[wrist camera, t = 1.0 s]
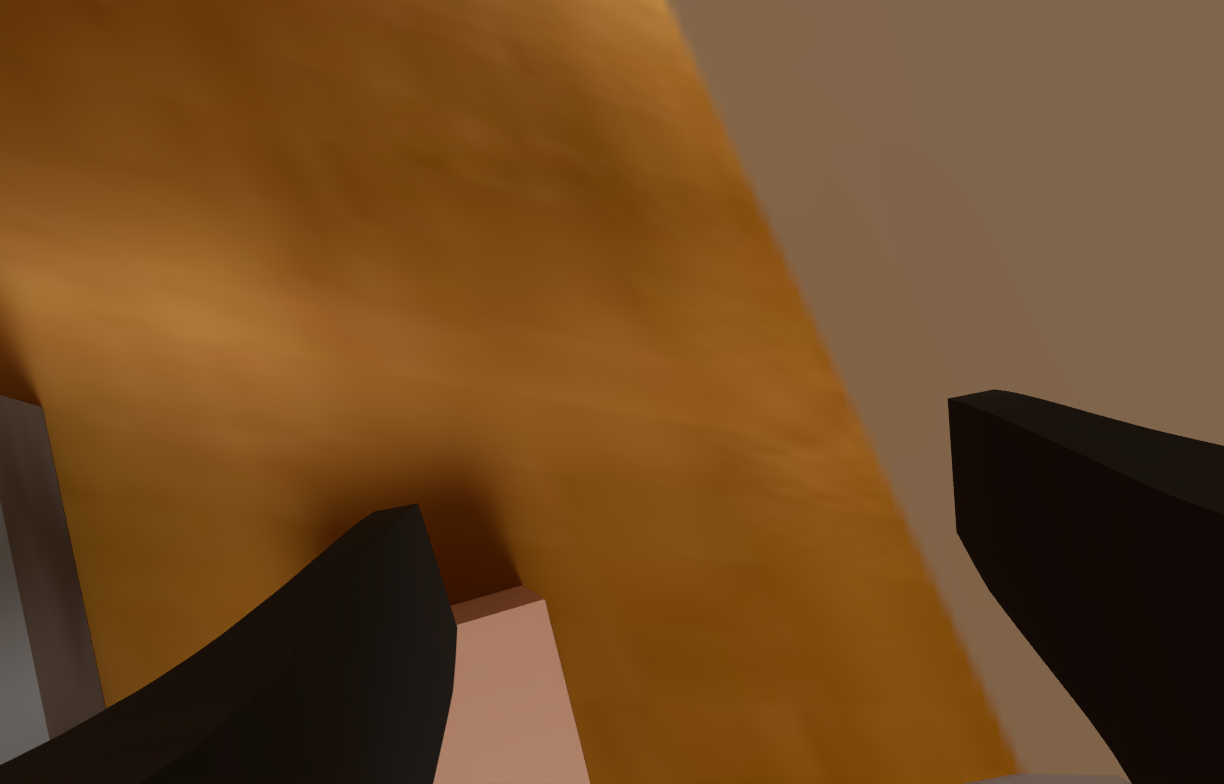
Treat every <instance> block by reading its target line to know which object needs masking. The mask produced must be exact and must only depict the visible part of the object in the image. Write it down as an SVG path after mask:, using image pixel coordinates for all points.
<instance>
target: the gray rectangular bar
mask: <svg viewBox="0 0 1224 784" xmlns="http://www.w3.org/2000/svg"><path fill="white" fill-rule="evenodd" d="M105 709H106V708H105V703H104V699H103V694H102V689H101V684H100V680H99V675H98V670H97V665H96V661H95V656H94V651H93V646H92V642H91V637H90V632H89V628H88V623H87V618H86V613H85V609H84V604H83V599H82V594H81V590H80V585H79V580H78V575H77V571H76V566H75V561H74V556H73V552H72V547H71V542H70V537H69V533H68V528H67V523H66V518H65V514H64V509H63V504H62V499H61V495H60V490H59V485H58V480H57V476H56V471H55V466H54V461H53V457H52V452H51V447H50V443H49V438H48V433H47V428H46V424H45V419H44V414H43V409H42V407H41V406H37V405H33V404H30V403H26V402H23V401H19V400H16V399H12V398H9V397H5V396H1V395H0V765H1V764H3V763H5V762H7V761H9V760H11V759H13V758H15V757H17V756H19V755H21V754H23V753H25V752H27V751H29V750H31V749H33V748H35V747H37V746H39V745H41V744H43V743H45V742H47V741H49V740H51V739H53V738H55V737H57V736H59V735H61V734H63V733H65V732H66V731H68V730H70V729H72V728H73V727H75V726H77V725H79V724H81V723H82V722H84V721H86V720H88V719H89V718H91V717H93V716H95V715H96V714H98V713H100V712H102V711H103V710H105Z"/></svg>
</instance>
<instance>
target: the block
mask: <svg viewBox="0 0 1224 784" xmlns="http://www.w3.org/2000/svg"><path fill="white" fill-rule="evenodd" d="M451 609H452V612H453V615H454V618H455V621H456V624H457V645H456V663H455V675H454V687H453V694H452V699H451V704H450V709H449V714H448V719H447V723H446V728H445V733H444V737H443V742H442V747H441V751H440V756H439V760H438V765H437V769H436V774H435V778H434V782H433V784H590V781H589V777H588V773H587V769H586V765H585V761H584V757H583V753H582V749H581V744H580V740H579V736H578V732H577V728H576V724H575V720H574V716H573V712H572V708H571V704H570V700H569V696H568V692H567V688H566V684H565V680H564V676H563V672H562V668H561V664H560V660H559V656H558V651H557V647H556V643H555V639H554V635H553V631H552V627H551V623H550V619H549V615H548V611H547V607H546V603H545V599H543V598H542V597H540V596H539V595H537V594H536V593H534V592H533V591H531V590H529V589H528V588H526V587H525V586H523V585H521V586H517V587H514V588H511V589H507V590H504V591H500V592H497V593H493V594H490V595H486V596H483V597H479V598H476V599H472V600H469V601H466V602H462V603H459V604H455V605H452V606H451Z"/></svg>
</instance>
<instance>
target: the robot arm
mask: <svg viewBox="0 0 1224 784" xmlns="http://www.w3.org/2000/svg"><path fill="white" fill-rule="evenodd" d="M948 409H949V425H950V439H951V454H952V470H953V485H954V499H955V514H956V530H957V534H958V535H959V537H960V539H961V541H962V543H963V545H964V546H965V548H966V550H967V552H968V554H969V556H970V558H971V559H972V561H973V563H974V565H975V567H976V568H977V570H978V572H979V574H980V575H981V577H982V579H983V581H984V582H985V584H986V585H987V587H988V589H989V591H990V592H991V593H992V595H993V596H994V597H995V599H996V600H997V601H998V603H999V604H1000V605H1001V607H1002V608H1003V609H1004V611H1005V612H1006V613H1007V615H1008V616H1009V617H1010V618H1011V620H1012V621H1013V622H1014V624H1015V625H1016V626H1017V628H1018V629H1019V630H1020V632H1021V633H1022V634H1023V635H1024V637H1025V638H1026V639H1027V641H1028V642H1029V643H1030V644H1031V646H1033V648H1034V650H1035V651H1036V652H1037V653H1038V655H1039V656H1040V657H1041V658H1042V660H1043V661H1044V662H1045V664H1046V665H1047V666H1048V667H1049V669H1050V670H1051V671H1052V673H1053V674H1054V675H1055V676H1056V678H1057V679H1058V680H1059V681H1060V683H1061V684H1062V685H1063V687H1064V688H1065V689H1066V690H1067V692H1068V693H1069V694H1070V696H1071V697H1072V698H1073V699H1074V700H1075V702H1076V703H1077V704H1078V706H1079V707H1080V708H1081V710H1082V711H1083V712H1084V713H1085V715H1086V716H1087V717H1088V718H1089V720H1090V721H1091V723H1092V724H1093V725H1094V727H1095V728H1096V730H1097V731H1098V733H1099V734H1100V735H1101V737H1102V738H1103V740H1104V741H1105V742H1106V744H1107V745H1108V747H1109V748H1110V749H1111V751H1112V752H1113V754H1114V755H1115V757H1116V759H1117V760H1118V762H1119V764H1120V765H1121V767H1122V768H1123V770H1124V772H1125V773H1126V775H1127V776H1128V778H1129V780H1130V781H1131V783H1130V782H1128V781H1126V780H1125V779H1123V778H1121V777H1120V776H1104V775H1060V774H1014V775H1008V776H1003V777H997V778H992V779H986V780H980V781H975V782H969V783H964V784H1224V446H1222V445H1217V444H1213V443H1208V442H1204V441H1200V440H1195V439H1191V438H1186V437H1182V436H1178V435H1173V434H1169V433H1165V432H1161V431H1157V430H1153V429H1149V428H1145V427H1141V426H1137V425H1133V424H1130V423H1126V422H1122V421H1119V420H1115V419H1111V418H1107V417H1104V416H1100V415H1097V414H1093V413H1089V412H1086V411H1082V410H1079V409H1075V408H1072V407H1068V406H1065V405H1061V404H1057V403H1054V402H1050V401H1047V400H1043V399H1039V398H1035V397H1031V396H1027V395H1023V394H1018V393H1013V392H1009V391H1002V390H989V391H984V392H980V393H974V394H969V395H964V396H959V397H954V398H949V399H948ZM456 645H457V624H456V621H455V618H454V615H453V612H452V609H451V606H450V603H449V599H448V596H447V593H446V590H445V587H444V584H443V581H442V577H441V574H440V571H439V568H438V565H437V562H436V559H435V556H434V552H433V549H432V546H431V543H430V540H429V537H428V534H427V530H426V527H425V524H424V521H423V518H422V515H421V512H420V509H419V505H418V503H417V504H412V505H407V506H402V507H396V508H391V509H386V510H381V511H376V512H373V513H372V514H370V515H369V516H367V517H365V518H364V519H363V520H361V521H360V522H358V523H357V524H356V525H355V526H353V527H352V528H351V529H350V530H348V531H347V532H346V533H345V534H344V535H342V536H341V537H340V538H339V539H338V540H336V541H335V542H334V543H333V544H332V545H331V546H329V547H328V548H327V549H326V550H325V551H324V552H322V553H321V554H320V555H319V556H318V557H317V558H315V559H314V560H313V561H312V562H311V563H310V564H308V565H307V566H306V567H305V568H304V569H303V570H301V571H300V572H299V573H298V574H297V575H296V576H294V577H293V578H292V579H291V580H290V581H289V582H287V583H286V584H285V585H284V586H283V587H281V588H280V589H279V590H278V591H277V592H275V593H274V594H273V595H271V596H270V597H269V598H268V599H266V600H265V601H264V602H263V603H261V604H260V605H259V606H258V607H256V608H255V609H254V610H253V611H251V612H250V613H249V614H247V615H246V616H245V617H244V618H242V619H241V620H240V621H239V622H237V623H236V624H235V625H234V626H232V627H231V628H230V629H229V630H227V631H226V632H225V633H223V634H222V635H221V636H219V637H218V638H216V639H215V640H214V641H212V642H211V643H210V644H208V645H207V646H205V647H204V648H202V649H201V650H200V651H198V652H197V653H195V654H194V655H193V656H191V657H190V658H188V659H187V660H185V661H183V662H182V663H180V664H179V665H177V666H176V667H174V668H173V669H171V670H170V671H168V672H167V673H165V674H164V675H162V676H161V677H159V678H158V679H156V680H155V681H153V682H151V683H150V684H148V685H147V686H145V687H143V688H142V689H140V690H138V691H137V692H135V693H133V694H131V695H130V696H128V697H126V698H124V699H123V700H121V701H119V702H117V703H116V704H114V705H112V706H110V707H109V708H107V709H105V710H103V711H102V712H100V713H98V714H96V715H95V716H93V717H91V718H89V719H88V720H86V721H84V722H82V723H81V724H79V725H77V726H75V727H73V728H72V729H70V730H68V731H66V732H65V733H63V734H61V735H59V736H57V737H55V738H53V739H51V740H49V741H47V742H45V743H43V744H41V745H39V746H37V747H35V748H33V749H31V750H29V751H27V752H25V753H23V754H21V755H19V756H17V757H15V758H13V759H11V760H9V761H7V762H5V763H3V764H1V765H0V784H433V782H434V778H435V774H436V769H437V765H438V760H439V756H440V751H441V747H442V742H443V737H444V733H445V728H446V723H447V719H448V714H449V709H450V704H451V699H452V694H453V687H454V675H455V663H456Z"/></svg>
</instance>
